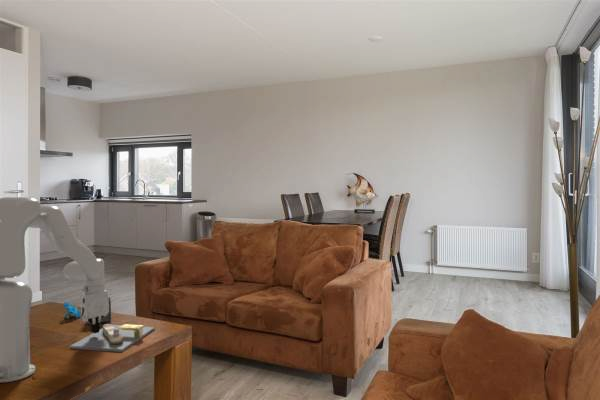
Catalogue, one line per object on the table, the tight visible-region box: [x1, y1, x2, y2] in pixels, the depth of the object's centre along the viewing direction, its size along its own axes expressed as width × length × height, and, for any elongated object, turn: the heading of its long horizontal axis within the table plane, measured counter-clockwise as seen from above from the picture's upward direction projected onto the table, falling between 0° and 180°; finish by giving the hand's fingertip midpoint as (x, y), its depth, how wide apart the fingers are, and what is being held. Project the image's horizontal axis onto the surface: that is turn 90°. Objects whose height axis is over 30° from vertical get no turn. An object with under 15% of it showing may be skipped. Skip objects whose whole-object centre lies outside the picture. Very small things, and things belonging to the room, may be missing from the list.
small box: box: [85, 297, 112, 326], centre depth 200 cm, size 11×6×10 cm, turn 113°
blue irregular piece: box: [62, 301, 82, 319], centre depth 206 cm, size 11×6×10 cm
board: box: [69, 324, 156, 353], centre depth 179 cm, size 26×22×1 cm
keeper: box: [119, 323, 145, 338], centre depth 178 cm, size 4×9×4 cm, turn 82°
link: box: [102, 323, 123, 344], centre depth 177 cm, size 20×5×5 cm, turn 37°
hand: (95, 332), depth 178 cm, fingers closed
